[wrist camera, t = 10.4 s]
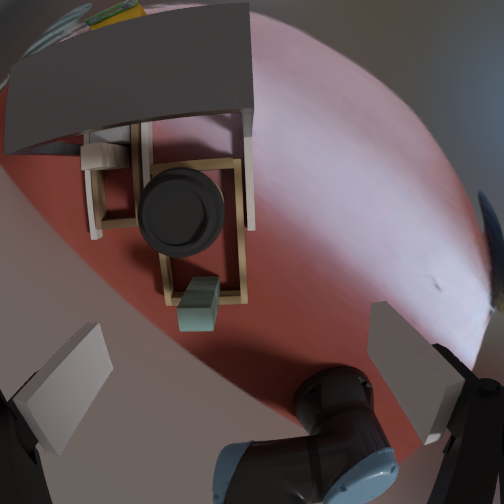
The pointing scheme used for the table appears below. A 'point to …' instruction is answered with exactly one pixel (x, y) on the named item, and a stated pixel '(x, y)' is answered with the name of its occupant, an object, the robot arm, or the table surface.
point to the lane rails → (146, 161)
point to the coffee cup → (180, 212)
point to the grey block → (112, 136)
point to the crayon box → (116, 14)
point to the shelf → (132, 78)
